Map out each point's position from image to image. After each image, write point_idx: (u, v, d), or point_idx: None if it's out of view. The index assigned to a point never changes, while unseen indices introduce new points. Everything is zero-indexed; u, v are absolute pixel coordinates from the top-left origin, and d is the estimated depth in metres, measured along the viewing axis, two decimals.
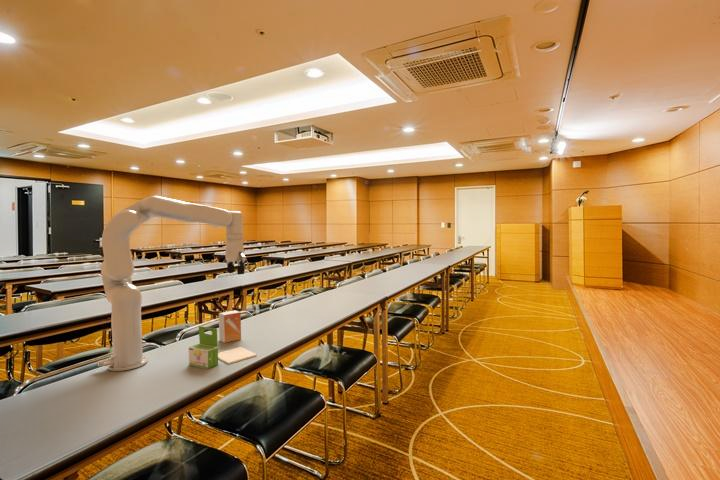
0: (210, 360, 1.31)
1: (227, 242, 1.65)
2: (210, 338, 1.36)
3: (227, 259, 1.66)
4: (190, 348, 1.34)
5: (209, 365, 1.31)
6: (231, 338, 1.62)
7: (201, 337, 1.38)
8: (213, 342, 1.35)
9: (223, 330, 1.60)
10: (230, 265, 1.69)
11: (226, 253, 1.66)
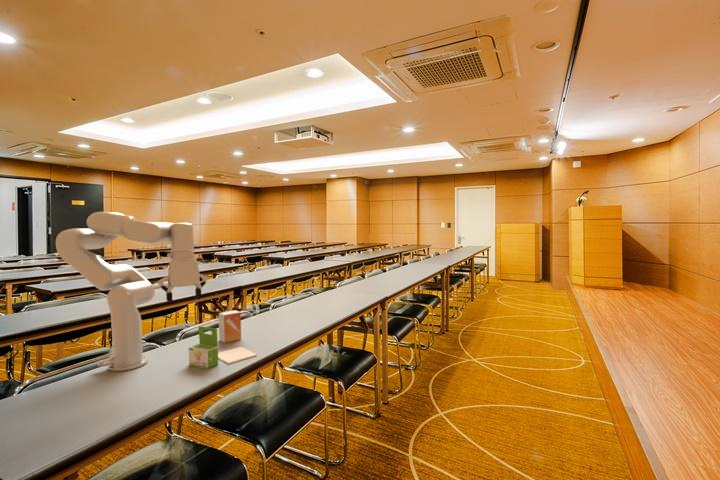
0: (210, 360, 1.31)
1: (178, 262, 1.28)
2: (210, 338, 1.36)
3: (179, 284, 1.28)
4: (190, 348, 1.34)
5: (209, 365, 1.31)
6: (231, 338, 1.62)
7: (201, 337, 1.38)
8: (213, 342, 1.35)
9: (223, 330, 1.60)
10: None
11: (175, 277, 1.28)
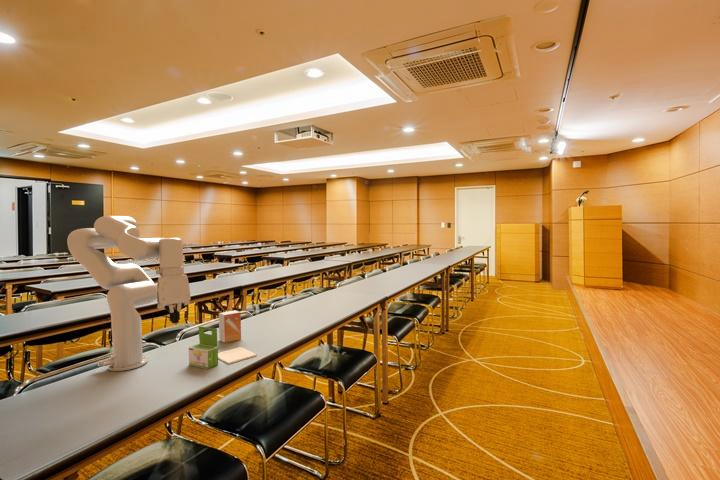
0: (210, 360, 1.31)
1: (168, 279, 1.23)
2: (210, 338, 1.36)
3: (169, 302, 1.23)
4: (190, 348, 1.34)
5: (209, 365, 1.31)
6: (231, 338, 1.62)
7: (201, 337, 1.38)
8: (213, 342, 1.35)
9: (223, 330, 1.60)
10: None
11: (165, 295, 1.22)
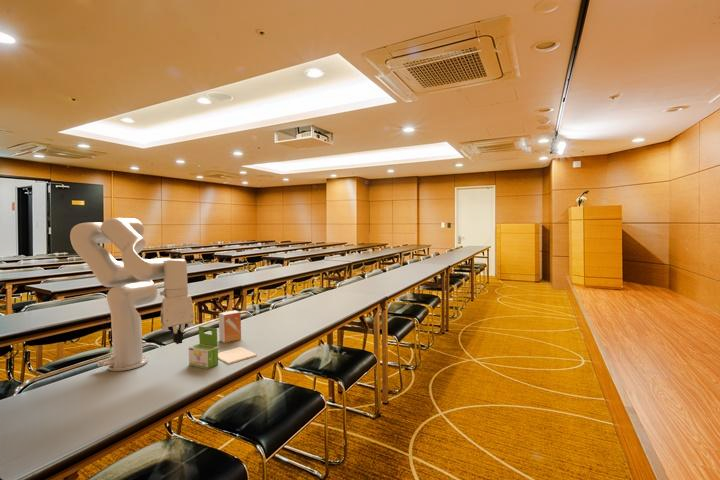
0: (210, 360, 1.31)
1: (172, 301, 1.24)
2: (210, 338, 1.36)
3: (173, 323, 1.24)
4: (190, 348, 1.34)
5: (209, 365, 1.31)
6: (231, 338, 1.62)
7: (201, 337, 1.38)
8: (213, 342, 1.35)
9: (223, 330, 1.60)
10: None
11: (169, 316, 1.23)
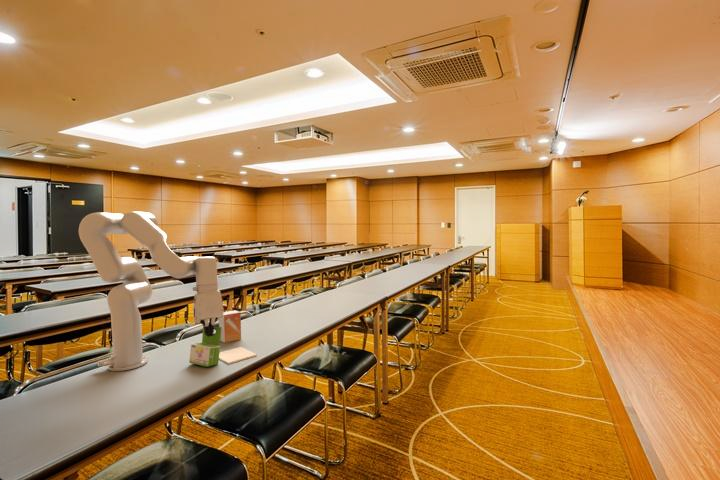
0: (211, 358, 1.32)
1: (204, 296, 1.32)
2: (213, 337, 1.37)
3: (205, 317, 1.32)
4: (192, 345, 1.35)
5: (209, 363, 1.31)
6: (231, 338, 1.62)
7: (204, 336, 1.39)
8: (216, 341, 1.36)
9: (223, 330, 1.60)
10: None
11: (202, 310, 1.31)
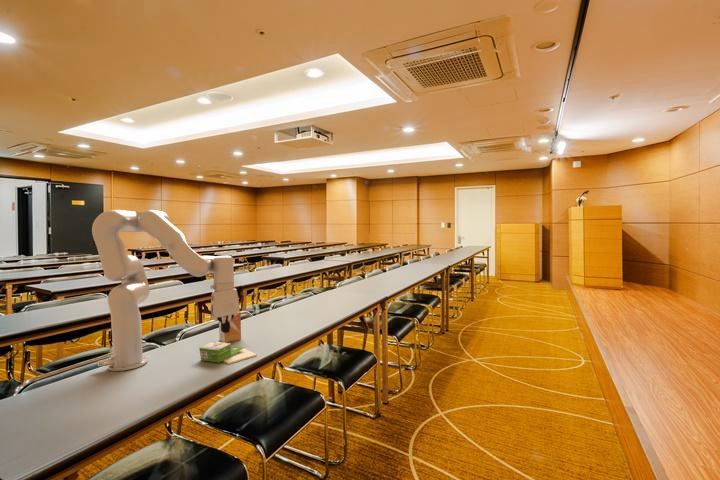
0: (223, 350, 1.37)
1: (222, 293, 1.37)
2: None
3: (222, 314, 1.37)
4: None
5: (219, 350, 1.35)
6: (231, 338, 1.62)
7: None
8: None
9: None
10: None
11: (219, 307, 1.36)
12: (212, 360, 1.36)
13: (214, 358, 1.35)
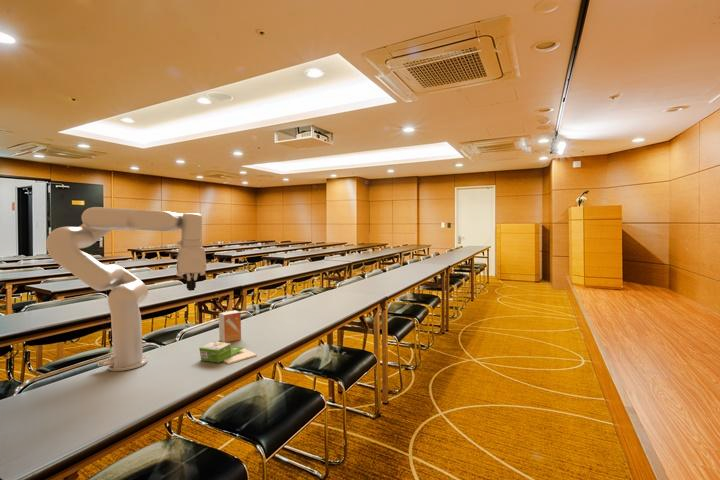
0: (223, 350, 1.37)
1: (188, 250, 1.36)
2: None
3: (187, 271, 1.36)
4: None
5: (219, 350, 1.35)
6: (231, 338, 1.62)
7: None
8: None
9: (223, 330, 1.60)
10: None
11: (184, 264, 1.35)
12: (212, 360, 1.36)
13: (214, 358, 1.35)
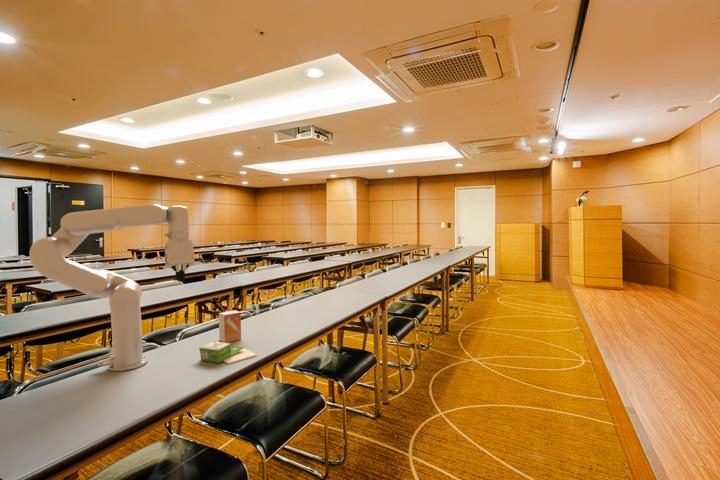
0: (223, 350, 1.37)
1: (175, 242, 1.39)
2: None
3: (176, 262, 1.39)
4: None
5: (219, 350, 1.35)
6: (231, 338, 1.62)
7: None
8: None
9: (223, 330, 1.60)
10: None
11: (173, 255, 1.39)
12: (212, 360, 1.36)
13: (214, 358, 1.35)
